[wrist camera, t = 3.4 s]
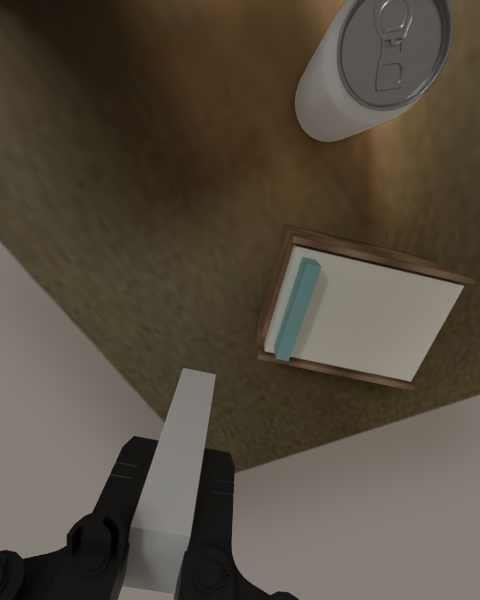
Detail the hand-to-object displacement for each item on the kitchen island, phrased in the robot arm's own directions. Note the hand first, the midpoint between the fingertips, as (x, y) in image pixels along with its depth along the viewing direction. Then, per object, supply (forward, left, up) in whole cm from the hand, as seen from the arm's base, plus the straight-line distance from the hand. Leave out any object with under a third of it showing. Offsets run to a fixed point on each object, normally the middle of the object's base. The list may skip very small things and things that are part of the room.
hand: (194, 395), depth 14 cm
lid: (+13, 0, -15) cm, 19 cm away
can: (+6, +17, -20) cm, 27 cm away
